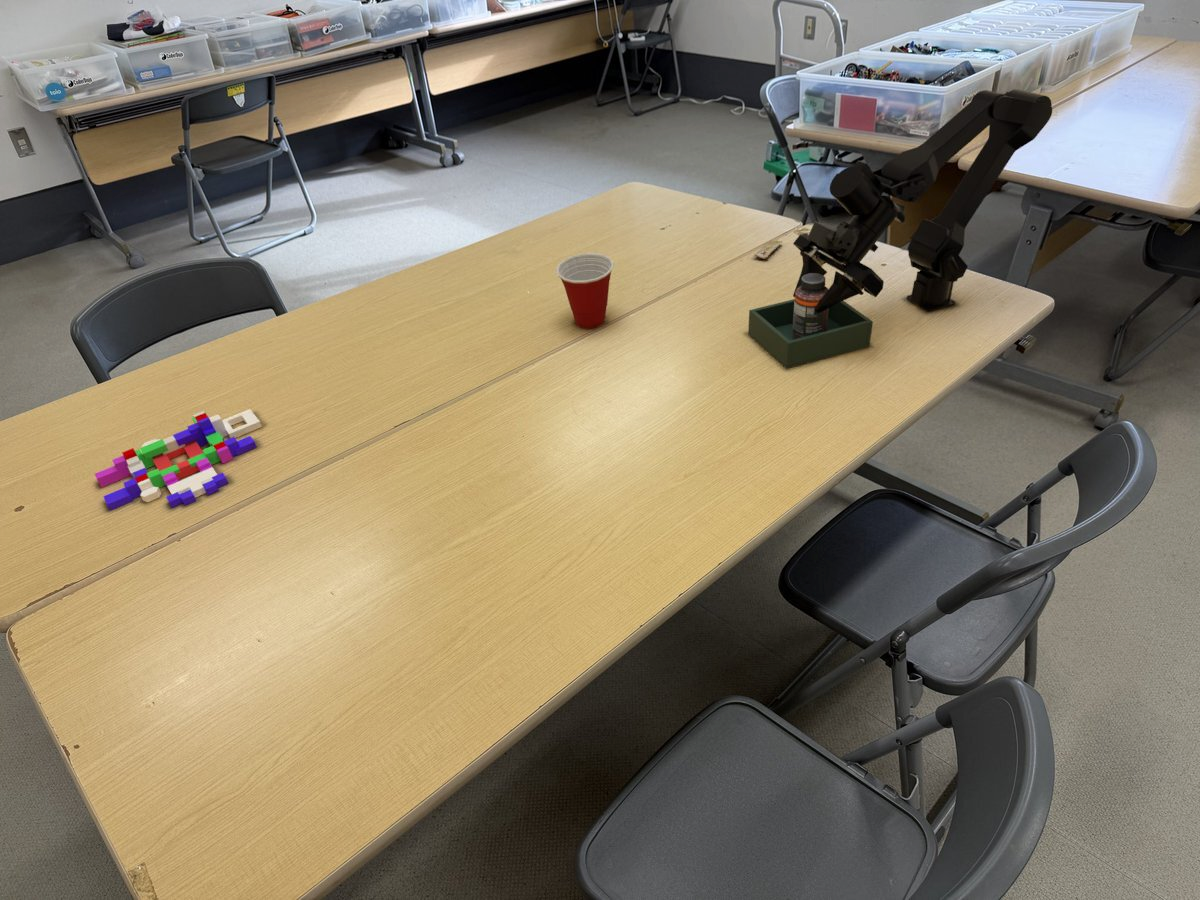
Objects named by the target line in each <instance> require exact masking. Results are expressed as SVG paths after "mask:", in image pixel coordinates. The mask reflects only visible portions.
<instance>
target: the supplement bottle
mask: <svg viewBox="0 0 1200 900" xmlns="http://www.w3.org/2000/svg"><path fill="white" fill-rule="evenodd" d="M828 289H829V287H827V286H826V276H825V275H824V276H823V275H821V274H817V273H810V274H806V275H804V276H803V277H802V280H801V286H800V287H798V288H797V290H796V292H795V298H794V299H795V301H794V318H793V336H794V337H795V338H796V339H798V338H802V337H806V336H809V335H813V334H817V333H821V332H825V331H827V324H828V312H829V308H828V309H826V310H824V311H822V312H820V313H817V312H816V311H815V308H816V306H817V304H818V303H819V301H820V300H821V299H822V297H823V296H824V295H825V293H826V292H827V291H828Z"/></svg>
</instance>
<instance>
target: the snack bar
mask: <svg viewBox="0 0 1200 900" xmlns="http://www.w3.org/2000/svg"><path fill="white" fill-rule="evenodd" d="M782 243H783V240H770V241H769V242H768V243H767V244H765V245H764V247H762V248H761V249H760V250H759V251H758V252H757V253H755V254H754V257H757V258H759V259H763V260H766V259H767V258H768V257H769V256H770V255H771V254H772V252H774V251H775V250H776V249H777V248H778V247H779V246H780V245H782Z"/></svg>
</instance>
